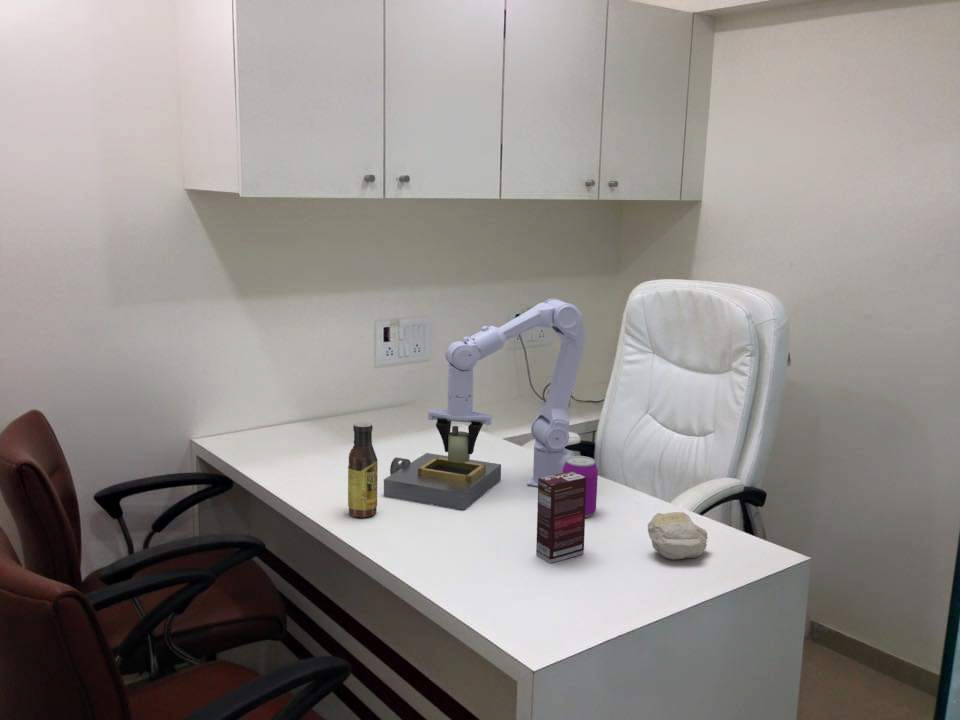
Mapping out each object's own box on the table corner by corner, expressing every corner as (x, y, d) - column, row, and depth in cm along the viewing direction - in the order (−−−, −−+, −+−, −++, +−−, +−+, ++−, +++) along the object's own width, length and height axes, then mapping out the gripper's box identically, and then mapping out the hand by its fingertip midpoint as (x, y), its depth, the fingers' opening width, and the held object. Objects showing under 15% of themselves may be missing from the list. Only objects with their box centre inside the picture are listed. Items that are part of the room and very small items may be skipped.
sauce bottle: (371, 520, 183) (371, 429, 179) (343, 517, 185) (342, 427, 181) (381, 509, 190) (381, 421, 186) (354, 506, 191) (353, 419, 187)
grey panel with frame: (500, 480, 210) (501, 458, 209) (464, 510, 190) (464, 486, 189) (415, 466, 219) (415, 445, 217) (372, 494, 199) (372, 471, 198)
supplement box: (568, 545, 173) (572, 469, 170) (584, 554, 169) (588, 476, 166) (534, 555, 168) (536, 477, 165) (549, 564, 164) (552, 484, 161)
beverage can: (598, 508, 193) (600, 456, 191) (593, 521, 186) (595, 467, 183) (564, 504, 195) (566, 453, 193) (557, 516, 188) (559, 463, 185)
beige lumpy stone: (717, 557, 170) (675, 544, 177) (719, 515, 169) (677, 504, 176) (680, 569, 162) (638, 556, 169) (682, 525, 161) (639, 514, 168)
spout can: (474, 460, 200) (474, 426, 198) (456, 464, 197) (457, 430, 195) (460, 454, 204) (461, 421, 202) (443, 458, 200) (444, 425, 199)
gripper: (495, 393, 200) (493, 449, 202) (434, 388, 203) (433, 444, 205) (488, 400, 193) (487, 458, 196) (425, 395, 196) (425, 452, 199)
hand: (459, 451), depth 200 cm, fingers closed on spout can, 5 cm apart
